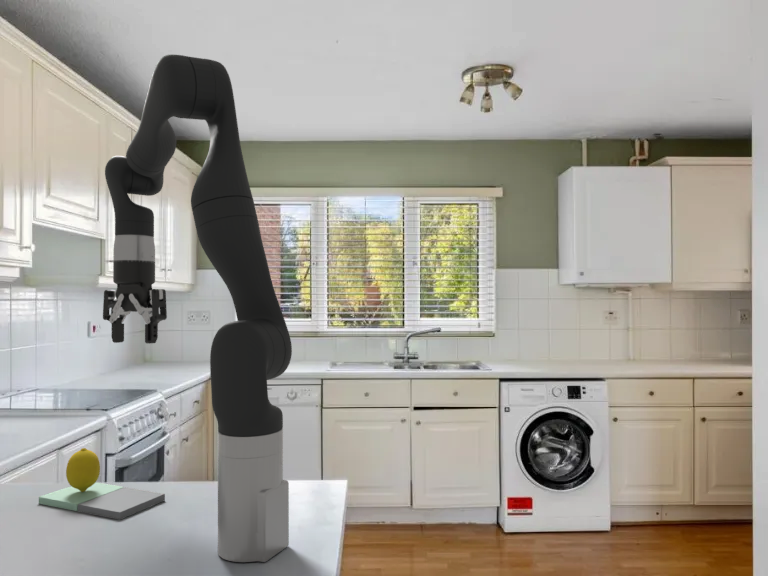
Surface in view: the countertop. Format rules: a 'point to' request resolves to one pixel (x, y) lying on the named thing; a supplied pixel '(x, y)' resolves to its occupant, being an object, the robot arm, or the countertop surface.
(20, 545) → the countertop surface
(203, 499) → the countertop surface
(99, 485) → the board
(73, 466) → the lemon
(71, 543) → the countertop surface
